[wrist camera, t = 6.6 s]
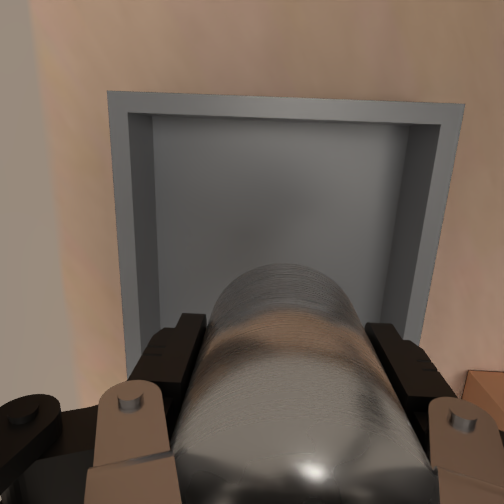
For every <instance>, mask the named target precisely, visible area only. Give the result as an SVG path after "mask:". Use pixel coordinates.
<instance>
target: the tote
mask: <svg viewBox="0 0 504 504" xmlns="http://www.w3.org/2000/svg"><path fill="white" fill-rule="evenodd" d="M107 98H108V112H109V127H110V141H111V155H112V169H113V183H114V197H115V211H116V226H117V240H118V254H119V268H120V282H121V296H122V310H123V325H124V339H125V353H126V367H127V380H128V378H129V376H130V375H131V373H132V371H133V369H134V368H135V366H136V364H137V362H138V361H139V359H140V357H141V356H142V355H143V352H144V350H145V348H146V347H147V345H148V343H149V341H150V339H151V338H152V336H153V335H154V334H156V333H157V332H158V331H160V330H161V329H163V328H164V327H168V328H175V327H176V325H177V323H178V320H179V318H180V316H181V314H182V313H198V314H206V318H207V325H208V322H209V319H210V316H211V313H212V310H213V307H214V305H215V303H216V301H217V299H218V297H219V296H220V294H221V293H222V292H223V290H224V289H225V288H226V287H227V286H228V285H229V284H230V283H231V282H232V281H233V280H235V279H236V278H237V277H238V276H240V275H242V274H243V273H245V272H247V271H249V270H252V269H254V268H256V267H260V266H263V265H267V264H275V263H292V264H299V265H303V266H307V267H310V268H313V269H315V270H318V271H320V272H321V273H323V274H325V275H327V276H328V277H330V278H331V279H332V280H334V281H335V282H336V283H337V284H338V285H339V286H340V287H341V288H342V289H343V291H344V292H345V293H346V294H347V296H348V298H349V299H350V301H351V303H352V305H353V307H354V309H355V311H356V313H357V315H358V317H359V319H360V321H361V323H362V325H363V327H364V328H365V325H366V323H367V322H373V323H391V324H393V326H394V327H395V329H396V330H397V332H398V333H399V335H400V336H401V338H402V339H403V340H410V341H412V342H413V343H414V344H416V345H417V346H419V342H420V337H421V332H422V327H423V322H424V316H425V311H426V306H427V301H428V296H429V290H430V285H431V280H432V275H433V270H434V264H435V259H436V254H437V249H438V244H439V238H440V233H441V228H442V223H443V218H444V212H445V207H446V202H447V197H448V191H449V186H450V181H451V176H452V171H453V165H454V160H455V155H456V150H457V145H458V139H459V134H460V129H461V124H462V119H463V113H464V108H465V104H454V103H427V102H400V101H373V100H345V99H318V98H291V97H264V96H237V95H210V94H183V93H156V92H129V91H107Z"/></svg>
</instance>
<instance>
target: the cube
mask: <svg viewBox="0 0 504 504" xmlns="http://www.w3.org/2000/svg"><path fill="white" fill-rule="evenodd" d="M462 400H465V401H468V402H471V403H473V404H475V405H477V406H478V407H480V408H482V409H483V410H485V411H486V412H487V413H488V414H489V415H490V416H491V417H492V418H493V419H494V420H495V422H496V424H497V426H498V429H499V430H501V431H504V372H486V371H469V372H468V376H467V380H466V384H465V388H464V392H463V397H462Z"/></svg>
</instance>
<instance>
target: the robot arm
mask: <svg viewBox="0 0 504 504" xmlns="http://www.w3.org/2000/svg"><path fill="white" fill-rule="evenodd" d="M206 328H207V318H206V314H198V313H182V314H181V316H180V318H179V320H178V323H177V325H176V327H175V328H168V327H164V328H163V329H161V330H160V331H158V332H157V333H156V334H154V335H153V336H152V338H151V339H150V341H149V343H148V345H147V347H146V348H145V350H144V352H143V355H142V356H141V357H140V359H139V361H138V362H137V364H136V366H135V368H134V369H133V371H132V373H131V375H130V376H129V378H128V380H127V381H125V382H122V383H119V384H117V385H115V386H113V387H111V388H110V389H108V390H107V391H106V392H105V393H104V394H103V395H102V396H101V398H100V400H99V404H98V405H95V406H92V407H87V408H82V409H76V410H70V411H65V412H61V408H60V403H59V401H58V400H57V399H56V398H54V397H53V396H50V395H45V394H33V395H28V396H23V397H20V398H17V399H14V400H12V401H10V402H8V403H6V404H4V405H3V406H1V407H0V495H1V498H2V500H1V501H0V504H182V502H181V496H180V490H179V483H178V477H177V471H176V465H175V458H174V453H173V450H170V446H169V443H170V440H171V437H172V434H173V431H174V428H175V425H176V422H177V419H178V415H179V412H180V409H181V406H182V403H183V400H184V397H185V394H186V391H187V387H188V384H189V381H190V378H191V375H192V372H193V369H194V366H195V363H196V359H197V356H198V353H199V350H200V347H201V344H202V341H203V338H204V335H205V331H206ZM364 330H365V332H366V334H367V336H368V338H369V340H370V342H371V344H372V346H373V348H374V350H375V352H376V354H377V356H378V358H379V360H380V362H381V364H382V366H383V368H384V370H385V372H386V374H387V376H388V379H389V381H390V383H391V385H392V387H393V389H394V391H395V393H396V395H397V397H398V399H399V401H400V403H401V405H402V407H403V409H404V411H405V413H406V415H407V417H408V419H409V421H410V423H411V426H412V428H413V430H414V432H415V434H416V436H417V438H418V440H419V442H420V444H421V446H422V448H423V450H424V452H425V454H426V456H427V458H428V460H429V462H430V464H431V467H432V469H433V473H434V476H435V482H434V487H433V491H432V495H431V500H430V504H504V431H501V430H499V429H498V426H497V424H496V422H495V420H494V419H493V418H492V417H491V416H490V415H489V414H488V413H487V412H486V411H485V410H483V409H482V408H480V407H478V406H477V405H475V404H473V403H471V402H468V401H465V400H462V399H459V398H458V397H457V396H456V395H455V393H454V392H453V390H452V389H451V388H450V386H449V385H448V383H447V382H446V381H445V379H444V378H443V377H442V375H441V374H440V372H438V371H437V368H436V367H435V365H434V364H433V363H431V360H430V358H429V357H428V356H427V354H426V353H425V351H424V350H423V349H422V348H420V347H419V346H417V345H416V344H414V343H413V342H412V341H410V340H403V339H402V338H401V336H400V335H399V333H398V332H397V330H396V329H395V327H394V326H393V324H391V323H373V322H367V323H366V325H365V328H364Z"/></svg>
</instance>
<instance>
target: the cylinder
mask: <svg viewBox="0 0 504 504" xmlns="http://www.w3.org/2000/svg"><path fill="white" fill-rule="evenodd" d="M169 446H170V450H173V453H174V458H175V465H176V471H177V477H178V483H179V490H180V496H181V502H182V504H430V500H431V495H432V491H433V487H434V482H435V476H434V473H433V469H432V467H431V464H430V462H429V460H428V458H427V456H426V454H425V452H424V450H423V448H422V446H421V444H420V442H419V440H418V438H417V436H416V434H415V432H414V430H413V428H412V426H411V423H410V421H409V419H408V417H407V415H406V413H405V411H404V409H403V407H402V405H401V403H400V401H399V399H398V397H397V395H396V393H395V391H394V389H393V387H392V385H391V383H390V381H389V379H388V376H387V374H386V372H385V370H384V368H383V366H382V364H381V362H380V360H379V358H378V356H377V354H376V352H375V350H374V348H373V346H372V344H371V342H370V340H369V338H368V336H367V334H366V332H365V330H364V327H363V325H362V323H361V321H360V319H359V317H358V315H357V313H356V311H355V309H354V307H353V305H352V303H351V301H350V299H349V298H348V296H347V294H346V293H345V292H344V291H343V289H342V288H341V287H340V286H339V285H338V284H337V283H336V282H335V281H334V280H332V279H331V278H330V277H328V276H327V275H325V274H323V273H321V272H320V271H318V270H315V269H313V268H310V267H307V266H303V265H299V264H292V263H275V264H267V265H263V266H260V267H256V268H254V269H252V270H249V271H247V272H245V273H243V274H242V275H240V276H238V277H237V278H236V279H235V280H233V281H232V282H231V283H230V284H229V285H228V286H227V287H226V288H225V289H224V290H223V292H222V293H221V294H220V296H219V297H218V299H217V301H216V303H215V305H214V307H213V310H212V313H211V316H210V319H209V322H208V325H207V328H206V331H205V335H204V338H203V341H202V344H201V347H200V350H199V353H198V356H197V359H196V363H195V366H194V369H193V372H192V375H191V378H190V381H189V384H188V387H187V391H186V394H185V397H184V400H183V403H182V406H181V409H180V412H179V415H178V419H177V422H176V425H175V428H174V431H173V434H172V437H171V440H170V443H169Z"/></svg>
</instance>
